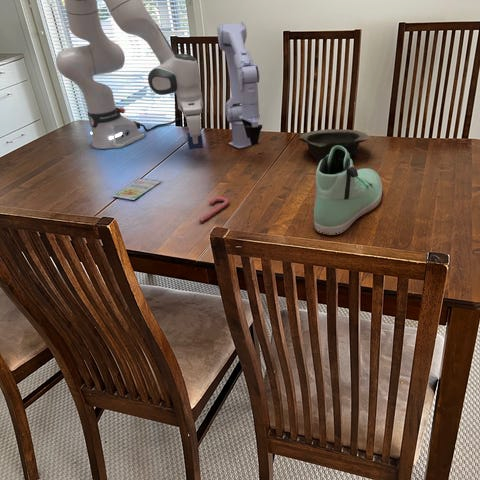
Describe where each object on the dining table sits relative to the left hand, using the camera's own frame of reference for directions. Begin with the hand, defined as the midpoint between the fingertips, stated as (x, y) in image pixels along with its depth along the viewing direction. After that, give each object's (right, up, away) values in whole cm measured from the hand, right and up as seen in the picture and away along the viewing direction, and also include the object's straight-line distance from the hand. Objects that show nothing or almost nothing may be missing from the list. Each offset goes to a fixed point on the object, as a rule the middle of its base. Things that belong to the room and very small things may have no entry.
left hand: (194, 140), depth 177 cm
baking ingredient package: (-18, -20, -16) cm, 31 cm away
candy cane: (+8, -28, -33) cm, 45 cm away
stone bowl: (+51, -6, -2) cm, 51 cm away
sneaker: (+48, -28, -38) cm, 67 cm away
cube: (0, -2, +1) cm, 2 cm away
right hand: (+21, -1, -6) cm, 22 cm away
